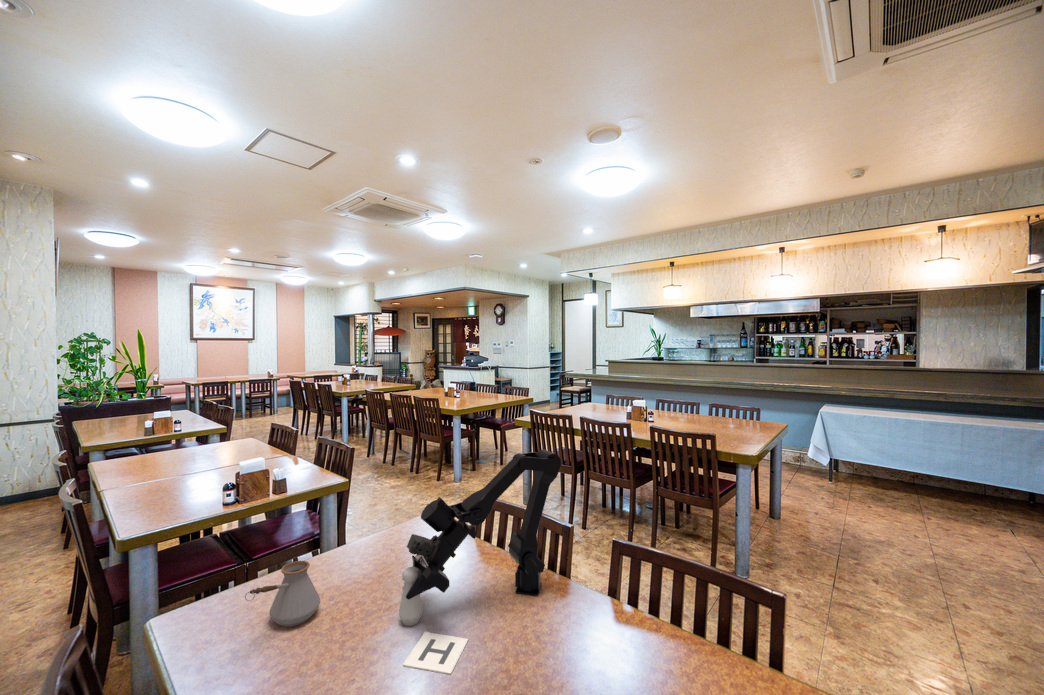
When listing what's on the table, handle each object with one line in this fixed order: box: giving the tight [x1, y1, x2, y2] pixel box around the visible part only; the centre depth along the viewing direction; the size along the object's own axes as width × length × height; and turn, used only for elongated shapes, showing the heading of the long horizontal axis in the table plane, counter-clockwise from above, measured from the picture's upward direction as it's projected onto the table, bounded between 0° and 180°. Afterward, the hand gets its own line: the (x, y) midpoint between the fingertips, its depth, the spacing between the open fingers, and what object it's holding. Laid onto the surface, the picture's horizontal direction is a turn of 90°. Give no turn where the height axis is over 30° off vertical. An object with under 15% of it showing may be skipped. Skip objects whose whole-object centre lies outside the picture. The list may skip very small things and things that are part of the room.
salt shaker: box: [398, 566, 424, 627], centre depth 109 cm, size 6×6×13 cm
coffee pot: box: [244, 560, 321, 627], centre depth 105 cm, size 21×12×15 cm, turn 171°
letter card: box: [402, 631, 469, 675], centre depth 98 cm, size 11×11×1 cm
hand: (405, 594), depth 108 cm, fingers closed on salt shaker, 3 cm apart
